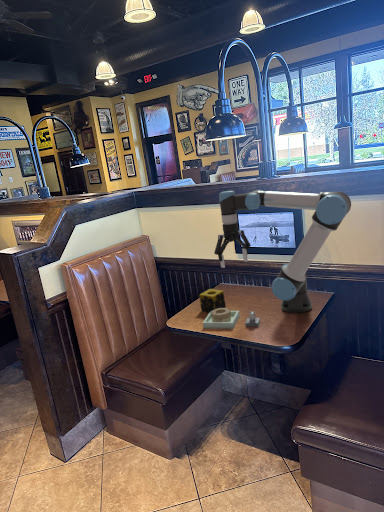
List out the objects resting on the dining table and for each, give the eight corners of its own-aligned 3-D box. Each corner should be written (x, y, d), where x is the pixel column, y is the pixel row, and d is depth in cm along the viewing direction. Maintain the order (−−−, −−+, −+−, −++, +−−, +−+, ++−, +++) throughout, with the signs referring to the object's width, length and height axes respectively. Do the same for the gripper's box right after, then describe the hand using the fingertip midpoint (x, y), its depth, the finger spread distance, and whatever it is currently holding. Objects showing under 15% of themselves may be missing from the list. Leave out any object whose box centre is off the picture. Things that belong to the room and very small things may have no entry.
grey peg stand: (260, 321, 183) (259, 310, 181) (258, 326, 177) (257, 315, 176) (247, 321, 185) (246, 310, 183) (245, 326, 179) (244, 315, 178)
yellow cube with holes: (211, 305, 214) (209, 288, 212) (226, 307, 207) (224, 290, 205) (200, 311, 206) (198, 294, 204) (215, 314, 200) (213, 296, 198)
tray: (239, 316, 193) (239, 310, 192) (233, 328, 179) (232, 323, 178) (211, 316, 198) (210, 310, 197) (203, 328, 184) (202, 322, 183)
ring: (233, 320, 186) (232, 311, 185) (218, 325, 182) (217, 316, 181) (222, 314, 196) (221, 305, 195) (207, 319, 192) (206, 310, 191)
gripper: (246, 218, 194) (250, 257, 198) (204, 226, 184) (209, 268, 188) (255, 218, 187) (259, 259, 192) (211, 228, 177) (216, 271, 182)
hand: (234, 264), depth 190 cm, fingers open, 13 cm apart
